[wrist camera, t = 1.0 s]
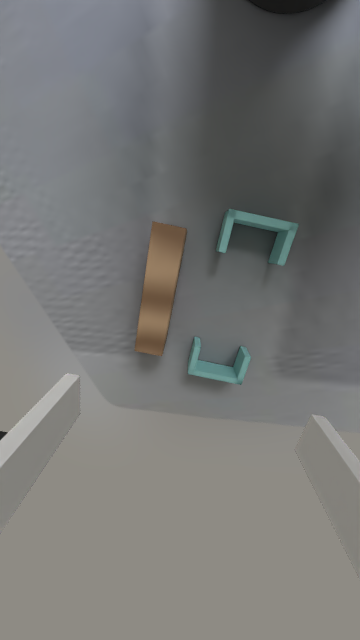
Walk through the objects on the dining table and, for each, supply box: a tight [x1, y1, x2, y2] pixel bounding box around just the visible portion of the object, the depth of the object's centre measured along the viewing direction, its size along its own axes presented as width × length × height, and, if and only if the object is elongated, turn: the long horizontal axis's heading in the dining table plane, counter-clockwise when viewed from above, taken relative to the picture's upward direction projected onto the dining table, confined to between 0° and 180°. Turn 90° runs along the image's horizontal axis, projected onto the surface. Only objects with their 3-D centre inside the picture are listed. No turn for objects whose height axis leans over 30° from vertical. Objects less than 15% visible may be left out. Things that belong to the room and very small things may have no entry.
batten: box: [135, 222, 187, 356], centre depth 26 cm, size 15×4×5 cm, turn 169°
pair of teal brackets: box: [188, 209, 299, 385], centre depth 27 cm, size 21×8×3 cm, turn 168°
